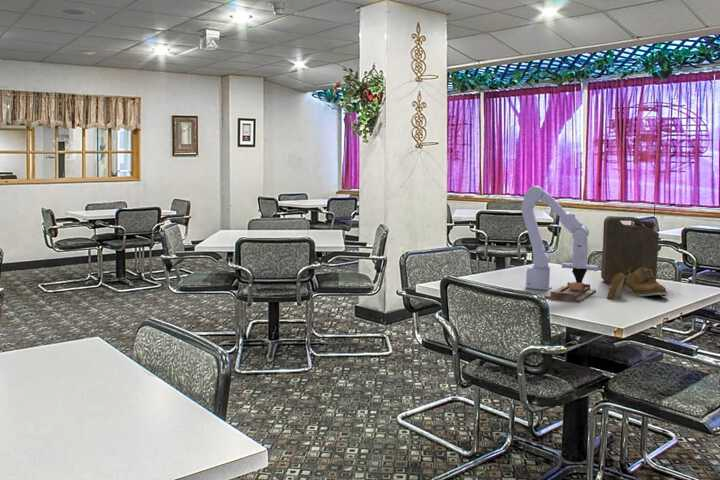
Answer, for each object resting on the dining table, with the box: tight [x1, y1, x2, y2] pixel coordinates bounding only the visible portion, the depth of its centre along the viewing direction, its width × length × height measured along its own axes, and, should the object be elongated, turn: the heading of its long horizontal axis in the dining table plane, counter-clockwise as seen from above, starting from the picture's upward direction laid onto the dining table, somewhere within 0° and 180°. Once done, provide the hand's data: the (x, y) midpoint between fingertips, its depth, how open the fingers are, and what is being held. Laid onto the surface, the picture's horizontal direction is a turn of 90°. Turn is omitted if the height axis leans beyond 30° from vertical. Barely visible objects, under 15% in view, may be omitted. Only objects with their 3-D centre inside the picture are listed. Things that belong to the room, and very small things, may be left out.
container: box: [600, 215, 660, 285], centre depth 300 cm, size 22×10×30 cm, turn 81°
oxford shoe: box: [624, 266, 668, 298], centre depth 276 cm, size 28×10×11 cm, turn 2°
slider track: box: [544, 281, 597, 303], centre depth 272 cm, size 14×26×3 cm, turn 148°
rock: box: [606, 273, 625, 300], centre depth 269 cm, size 11×9×10 cm
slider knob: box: [569, 281, 585, 290], centre depth 278 cm, size 5×4×2 cm
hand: (579, 285), depth 283 cm, fingers closed, pressing on slider track
